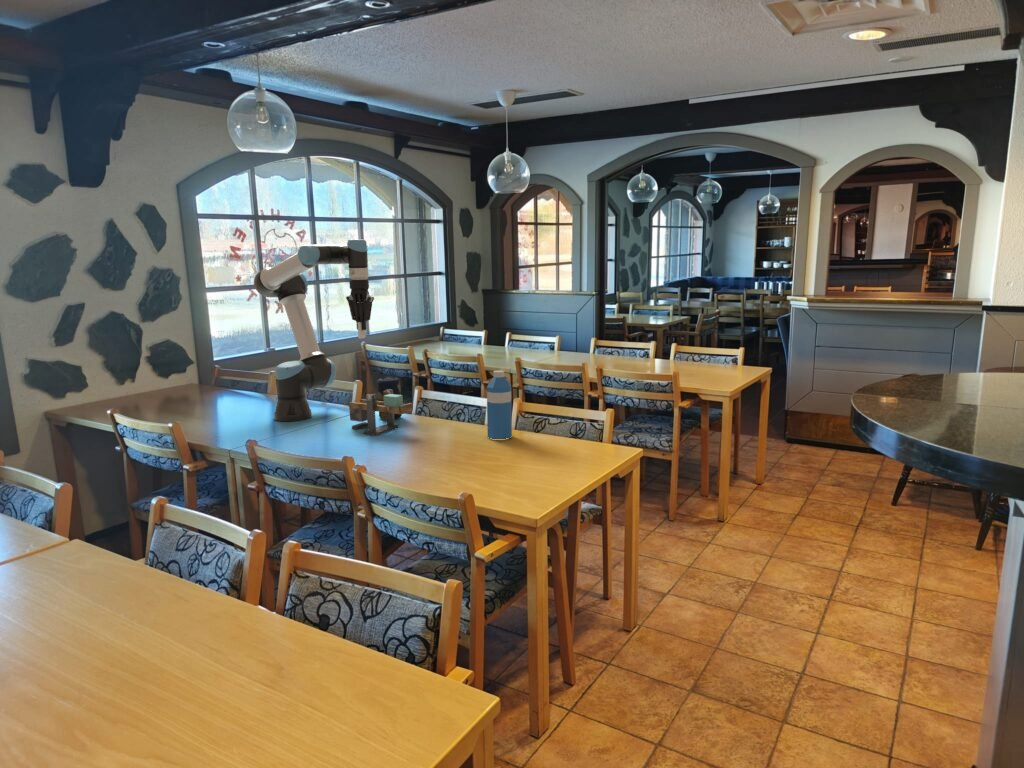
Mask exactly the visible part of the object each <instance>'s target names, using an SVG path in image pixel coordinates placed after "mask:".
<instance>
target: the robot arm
mask: <svg viewBox="0 0 1024 768" xmlns="http://www.w3.org/2000/svg"><path fill="white" fill-rule="evenodd" d="M368 259H369V258H368V245H367V241H366V240H365V239H362V238H359V239H357V238H355V239H354V238H353V239H347V242H346V244H311V243H310V244H303V245H300V247H299V249H298V251H297V252H296V253H295V254H293V255H291V256H290V257H288V258H286V259H284V260H282V261H281V262H278V263H277V264H275V265H274V266H272V267H265V268H263V269H261V270H260V271H258V272H257V273H256V274H255V276H254V278H253V286H254V288H255V290H256V291H257V293H258V294H260V295H261V296H263V297H266V298H277V299H278V302H279V305H282V306H284V310H285V312H286V315H287V316H286V317H287V319H288V321H289V324H290V328H291V331H292V335H293V337H294V341H295V343H296V346H297V350H298V352H299V355H300V359H299V360H291V361H284V362H282V363H280V364H278V365H276V367H275V369H274V378H275V388H276V403H275V404H276V405H275V411H274V413H273V418H274V420H275V421H276V422H277V421H279V422H296V421H297V422H298V421H303V420H307V419H310V418H311V417H312V409H311V407H310V404H309V402H308V400H307V392H306V391H310V390H315V389H316V390H317V389H320V388H321V389H322V388H326V387H329V386H331V385H332V384H333V382H334V381H335V378H336V375H337V369H336V365H335V362H334V361H332V360H331V359H328V358H327V355H326V354H325V353H324V352H322V351H321V349H320V347H319V343H318V341H317V337H316V334H315V331H314V327H313V325H312V322H311V319H310V316H309V313H308V309H307V306H306V304H305V299H306V294H307V292H308V289H309V288H308V287H309V283H308V280H307V278H306V276H305V274H304V272H306V271H308V270H310V269H312V268H314V267H316V266H319V265H341V264H343V265H345V264H346V265H347V264H348V277H349V281H348V283H349V289H350V294H349V295H347V296H346V297H345V299H346V301H347V303H348V304H347V305H348V307H349V311H350V316H351V319H352V320H353V321H355V323H356V330H357V335H358V337H357V338H358V339H366V337H367V336H366V333H367V332H366V330H367V322H368V321H370V320H371V315H372V308H373V302H374V300H375V297H374V296H371V295H370V292H369V289H370V280H369V279H368V278H369V266H368V265H369V263H368V261H369V260H368Z"/></svg>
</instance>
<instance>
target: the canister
mask: <svg viewBox="0 0 1024 768" xmlns="http://www.w3.org/2000/svg"><path fill="white" fill-rule="evenodd" d="M376 384H377V385H376V386H377V387H376V389H377V401H382V402H384V397H383V396H384V395H383V391H385V390H386V389H390V390H393V394H396V395H402V394H401V392H402V391H401V389H402V388H401V379H400V378H398V377H397V376H396V377H395V376H389V375H387V376H384V377H381V378H379V379H377V381H376ZM402 415H403V414H394V419H395V420H397V419H400V418H401V417H402ZM378 417H379V418H380V419H381V420H386V421H387V416H386V412H378Z"/></svg>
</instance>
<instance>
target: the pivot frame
mask: <svg viewBox="0 0 1024 768" xmlns="http://www.w3.org/2000/svg"><path fill="white" fill-rule="evenodd" d="M385 391H388V392H389V394H393V390H390V389H386V390H385ZM365 398H366V399H365V400H366V403H367V420H366V422H367V423H368V427H367V430H364V431H363V434H364V435H370V436H378V435H381V433H382V434H384V432H385V433H387V432H390V431H393V430H396V429H398V427H399V428H400V425H398V424H396V422H395V420H396V419H394V413H386V416H387V420H386V423H385V424H383V425H380V426H377V423H376V422H377V421H376V411H375V400H374V395H373V394H369V393H367V394H366V395H365ZM395 428H396V429H395ZM392 429H393V430H392Z"/></svg>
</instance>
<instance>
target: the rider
mask: <svg viewBox="0 0 1024 768" xmlns="http://www.w3.org/2000/svg"><path fill="white" fill-rule="evenodd" d="M383 397H384V406H387V407H396V408H399V406H402V405H403V404H404V401H403V400H404V399H403V394H401V395H396V394H388V395H385V396H383Z"/></svg>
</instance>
